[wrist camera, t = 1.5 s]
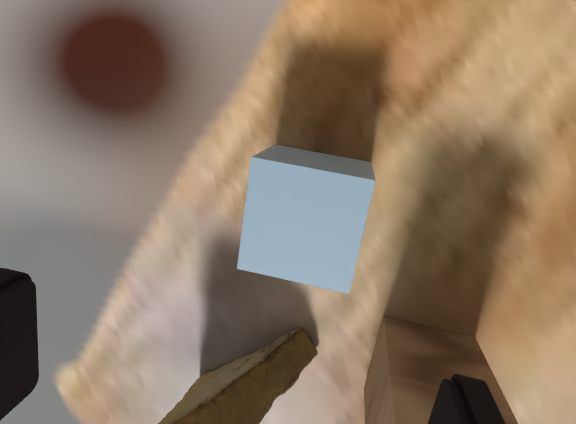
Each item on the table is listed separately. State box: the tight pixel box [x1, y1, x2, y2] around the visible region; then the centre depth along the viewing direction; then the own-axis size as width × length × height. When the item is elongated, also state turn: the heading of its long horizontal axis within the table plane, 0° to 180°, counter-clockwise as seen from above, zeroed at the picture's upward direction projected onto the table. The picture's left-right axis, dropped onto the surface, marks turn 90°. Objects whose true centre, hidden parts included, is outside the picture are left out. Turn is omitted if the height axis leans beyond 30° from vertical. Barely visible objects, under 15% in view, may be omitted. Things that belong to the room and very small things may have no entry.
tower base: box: [364, 316, 507, 424], centre depth 24 cm, size 6×6×6 cm
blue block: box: [237, 145, 375, 294], centre depth 23 cm, size 6×6×6 cm
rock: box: [158, 328, 317, 424], centre depth 27 cm, size 11×9×10 cm
